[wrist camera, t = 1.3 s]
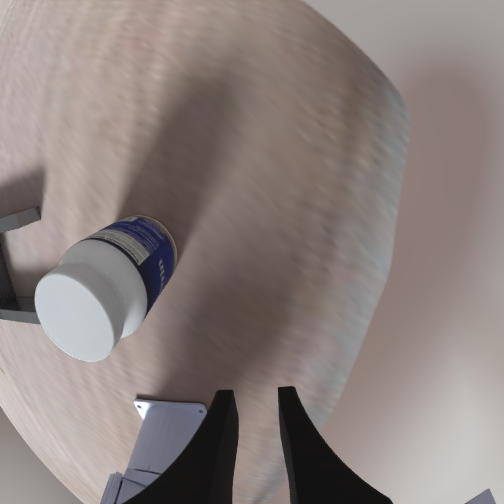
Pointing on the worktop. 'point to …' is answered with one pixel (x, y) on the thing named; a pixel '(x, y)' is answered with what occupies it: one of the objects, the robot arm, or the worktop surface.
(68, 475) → the worktop surface
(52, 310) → the pill bottle
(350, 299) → the worktop surface
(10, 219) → the metal u-channel bracket
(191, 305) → the worktop surface
